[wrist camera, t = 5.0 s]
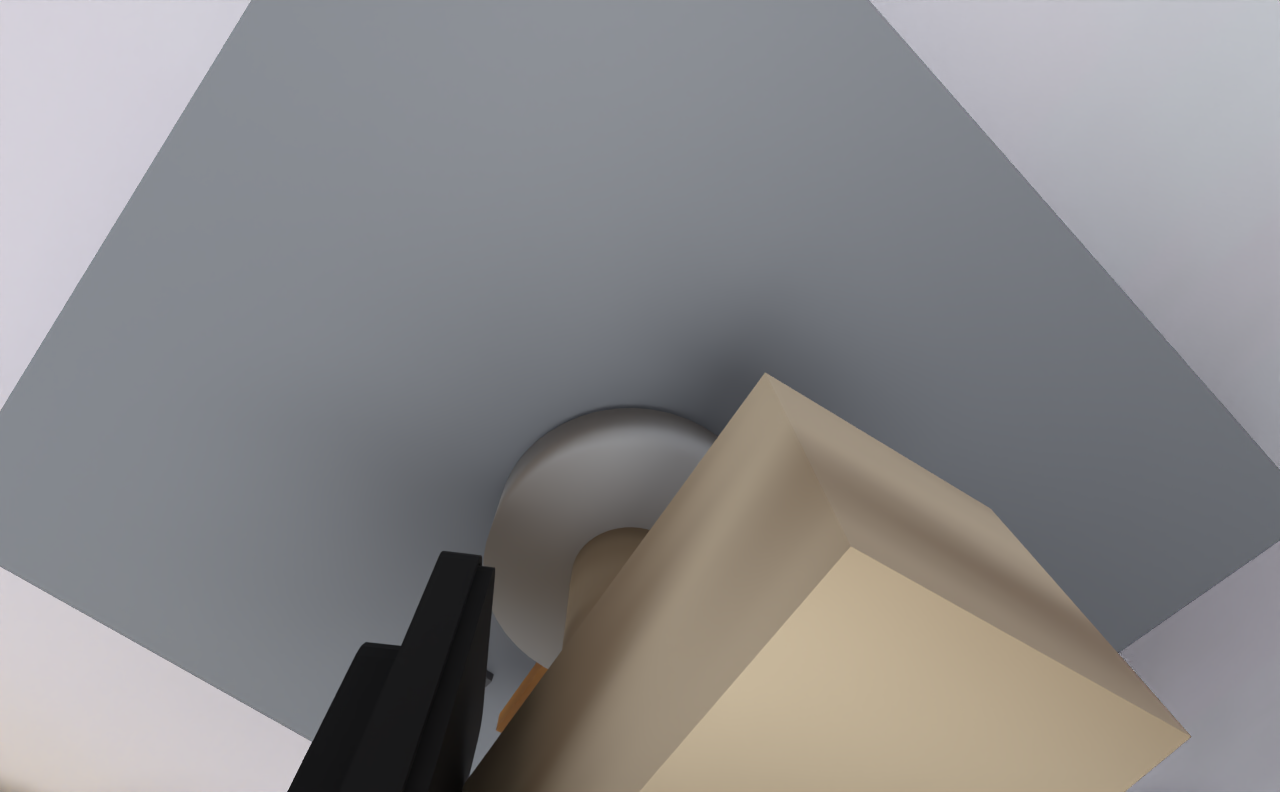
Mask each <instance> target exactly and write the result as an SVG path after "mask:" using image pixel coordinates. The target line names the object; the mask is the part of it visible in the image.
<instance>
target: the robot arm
mask: <svg viewBox="0 0 1280 792" xmlns="http://www.w3.org/2000/svg"><path fill="white" fill-rule="evenodd" d="M494 582H495V567H487V566H482V556H481V555H476V554H467V553H459V552H450V551H442V552H441V553H440V555H439V557H438V559H437V562H436V564H435V566H434V569H433V571H432V573H431V576H430V578H429V581H428V583H427V585H426V588H425V590H424V592H423V595H422V597H421V600H420V602H419V604H418V607H417V609H416V611H415V614H414V616H413V618H412V621H411V623H410V626H409V628H408V630H407V633H406V635H405V637H404V640H403V642H402V645H401V646H399V645H390V644H381V643H372V642H365V643H364V644H362V645H361V646H360V648H359V650H358V651H357V653H356V655H355V657H354V659H353V661H352V663H351V665H350V667H349V669H348V671H347V673H346V675H345V677H344V679H343V681H342V683H341V685H340V687H339V689H338V691H337V693H336V695H335V697H334V699H333V701H332V703H331V705H330V707H329V709H328V711H327V713H326V715H325V717H324V719H323V721H322V723H321V725H320V727H319V729H318V731H317V733H316V735H315V737H314V739H313V741H312V743H311V745H310V747H309V749H308V751H307V753H306V755H305V757H304V759H303V761H302V763H301V765H300V767H299V769H298V771H297V773H296V776H295V778H294V780H293V782H292V784H291V786H290V788H289V790H288V792H462V790H463V785H464V784H465V782H466V781H467V779H468V778H469V775H470V771H471V767H472V763H473V759H474V755H475V750H476V746H477V742H478V738H479V733H480V728H481V722H482V715H483V706H484V695H485V683H486V672H487V661H488V649H489V638H490V627H491V616H492V604H493V593H494Z"/></svg>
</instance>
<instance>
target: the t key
mask: <svg viewBox="0 0 1280 792" xmlns="http://www.w3.org/2000/svg"><path fill="white" fill-rule="evenodd" d="M483 566H487V567H495V582H494V593H493V604H492V611H493V613H494V615H495V617H496V619H497V621H498V623H499V624H500V626H501V627H502V629H503V630H504V632H505V633H506V634H507V635H508V637H509V638H510V639H511V640H512V641H513V642H514V643H515V645H516V646H517V647H518V648H520V649H521V650H522V651H523V652H524V653H525V654H526V655H527V656H529V657H530V658H531V659H533V660H534V661H536V664H535V665H534V667H533V668H532V669H531V671H530V672H529V674H528V675H527V676H526V678H525V679H524V681H523V682H522V683H521V685H520V686H519V687H518V689H517V690H516V692H515V693H514V694H513V696H512V697H511V699H510V700H509V701H508V703H507V704H506V706H505V707H504V708H503V710H502V711H501V712H500V714H499V718H498V723H497V728H496V731H498V732H500V733H501V734H500V736H499V737H498V738H497V740H496V741H495V743H494V744H493V745H492V747H491V748H490V749H489V751H488V752H487V753H486V755H485V756H484V758H483V759H482V760H481V762H480V763H479V764H478V766H477V767H476V769H475V770H474V771H473V773H472V774H471V775H470V777H469V778H468V779H467V781H466V782H465V784H464V785H463V790H462V792H1125V791H1126V790H1128V789H1129V788H1130V787H1131V786H1132V785H1134V784H1135V783H1136V782H1137V781H1138V780H1140V779H1141V778H1142V777H1143V776H1145V775H1146V774H1147V773H1148V772H1149V771H1151V770H1152V769H1153V768H1154V767H1155V766H1157V765H1158V764H1159V763H1160V762H1162V761H1163V760H1164V759H1165V758H1166V757H1168V756H1169V755H1170V754H1171V753H1172V752H1174V751H1175V750H1176V749H1177V748H1179V747H1180V746H1181V745H1182V744H1183V743H1185V742H1186V741H1187V740H1188V739H1189V738H1191V736H1190V734H1189V733H1188V732H1187V731H1186V730H1185V729H1184V728H1183V727H1182V725H1181V724H1180V723H1179V722H1178V721H1177V720H1176V719H1175V717H1174V716H1173V715H1172V714H1171V713H1170V712H1169V711H1168V709H1167V708H1166V707H1165V706H1164V705H1163V704H1162V703H1161V701H1160V700H1159V699H1158V698H1157V697H1156V696H1155V695H1154V694H1153V692H1152V691H1151V690H1150V689H1149V688H1148V687H1147V686H1146V684H1145V683H1144V682H1143V681H1142V680H1141V679H1140V678H1139V676H1138V675H1137V674H1136V673H1135V672H1134V671H1133V670H1132V669H1131V667H1130V666H1129V665H1128V664H1127V663H1126V662H1125V661H1124V659H1123V658H1122V657H1121V656H1120V655H1119V654H1118V653H1117V651H1116V650H1115V649H1114V648H1113V647H1112V646H1111V645H1110V644H1109V642H1108V641H1107V640H1106V639H1105V638H1104V637H1103V636H1102V634H1101V633H1100V632H1099V631H1098V630H1097V629H1096V628H1095V626H1094V625H1093V624H1092V623H1091V622H1090V621H1089V620H1088V619H1087V617H1086V616H1085V615H1084V614H1083V613H1082V612H1081V611H1080V609H1079V608H1078V607H1077V606H1076V605H1075V604H1074V603H1073V601H1072V600H1071V599H1070V598H1069V597H1068V596H1067V595H1066V594H1065V592H1064V591H1063V590H1062V589H1061V588H1060V587H1059V586H1058V584H1057V583H1056V582H1055V581H1054V580H1053V579H1052V578H1051V576H1050V575H1049V574H1048V573H1047V572H1046V571H1045V570H1044V569H1043V567H1042V566H1041V565H1040V564H1039V563H1038V562H1037V561H1036V559H1035V558H1034V557H1033V556H1032V555H1031V554H1030V553H1029V551H1028V550H1027V549H1026V548H1025V547H1024V546H1023V545H1022V544H1021V542H1020V541H1019V540H1018V539H1017V538H1016V537H1015V536H1014V534H1013V533H1012V532H1011V531H1010V530H1009V529H1008V528H1007V526H1006V525H1005V524H1004V523H1003V522H1002V521H1001V520H1000V519H999V517H998V516H997V515H996V514H995V513H994V512H993V511H992V509H990V508H989V507H987V506H985V505H984V504H982V503H980V502H979V501H977V500H976V499H974V498H972V497H971V496H969V495H967V494H966V493H964V492H962V491H961V490H959V489H957V488H956V487H954V486H952V485H951V484H949V483H947V482H946V481H944V480H942V479H941V478H939V477H937V476H936V475H934V474H933V473H931V472H929V471H928V470H926V469H924V468H923V467H921V466H919V465H918V464H916V463H914V462H913V461H911V460H909V459H908V458H906V457H904V456H903V455H901V454H899V453H898V452H896V451H894V450H893V449H891V448H889V447H888V446H886V445H885V444H883V443H881V442H880V441H878V440H876V439H875V438H873V437H871V436H870V435H868V434H866V433H865V432H863V431H861V430H860V429H858V428H856V427H855V426H853V425H851V424H850V423H848V422H846V421H845V420H843V419H842V418H840V417H838V416H837V415H835V414H833V413H832V412H830V411H828V410H827V409H825V408H823V407H822V406H820V405H818V404H817V403H815V402H813V401H812V400H810V399H808V398H807V397H805V396H803V395H802V394H800V393H798V392H797V391H795V390H794V389H792V388H790V387H789V386H787V385H785V384H784V383H782V382H780V381H779V380H777V379H775V378H774V377H772V376H770V375H769V374H767V373H764V375H763V376H762V377H761V379H760V380H759V381H758V383H757V384H756V386H755V387H754V388H753V390H752V391H751V392H750V394H749V395H748V396H747V398H746V399H745V401H744V402H743V403H742V405H741V406H740V407H739V409H738V410H737V412H736V413H735V414H734V416H733V417H732V418H731V420H730V421H729V422H728V424H727V425H726V427H725V428H724V429H723V431H722V432H721V433H720V435H719V436H716V435H715V434H713V433H712V432H710V431H709V430H707V429H706V428H704V427H703V426H701V425H699V424H696V423H694V422H692V421H690V420H688V419H686V418H683V417H680V416H677V415H674V414H671V413H667V412H662V411H657V410H652V409H640V408H619V409H610V410H604V411H597V412H594V413H590V414H587V415H583V416H580V417H577V418H575V419H573V420H570V421H568V422H566V423H563V424H562V425H560V426H558V427H557V428H555V429H553V430H551V431H550V432H548V433H547V434H545V435H544V436H543V437H542V438H540V439H539V440H538V441H536V442H535V443H534V444H533V445H532V446H531V447H530V448H529V449H528V450H527V451H526V452H525V453H524V454H523V456H522V457H521V458H520V460H519V461H518V462H517V464H516V465H515V467H514V468H513V470H512V472H511V474H510V476H509V478H508V479H507V481H506V484H505V487H504V490H503V493H502V496H501V499H500V502H499V505H498V508H497V511H496V514H495V517H494V520H493V523H492V526H491V529H490V532H489V535H488V538H487V541H486V546H485V552H484V558H483Z"/></svg>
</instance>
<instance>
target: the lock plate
mask: <svg viewBox="0 0 1280 792" xmlns="http://www.w3.org/2000/svg"><path fill="white" fill-rule="evenodd" d="M764 373H767V374H769V375H770V376H772V377H774V378H775V379H777V380H779V381H780V382H782V383H784V384H785V385H787V386H789V387H790V388H792V389H794V390H795V391H797V392H798V393H800V394H802V395H803V396H805V397H807V398H808V399H810V400H812V401H813V402H815V403H817V404H818V405H820V406H822V407H823V408H825V409H827V410H828V411H830V412H832V413H833V414H835V415H837V416H838V417H840V418H842V419H843V420H845V421H846V422H848V423H850V424H851V425H853V426H855V427H856V428H858V429H860V430H861V431H863V432H865V433H866V434H868V435H870V436H871V437H873V438H875V439H876V440H878V441H880V442H881V443H883V444H885V445H886V446H888V447H889V448H891V449H893V450H894V451H896V452H898V453H899V454H901V455H903V456H904V457H906V458H908V459H909V460H911V461H913V462H914V463H916V464H918V465H919V466H921V467H923V468H924V469H926V470H928V471H929V472H931V473H933V474H934V475H936V476H937V477H939V478H941V479H942V480H944V481H946V482H947V483H949V484H951V485H952V486H954V487H956V488H957V489H959V490H961V491H962V492H964V493H966V494H967V495H969V496H971V497H972V498H974V499H976V500H977V501H979V502H980V503H982V504H984V505H985V506H987V507H989V508H990V509H992V511H993V512H994V513H995V514H996V515H997V516H998V517H999V519H1000V520H1001V521H1002V522H1003V523H1004V524H1005V525H1006V526H1007V528H1008V529H1009V530H1010V531H1011V532H1012V533H1013V534H1014V536H1015V537H1016V538H1017V539H1018V540H1019V541H1020V542H1021V544H1022V545H1023V546H1024V547H1025V548H1026V549H1027V550H1028V551H1029V553H1030V554H1031V555H1032V556H1033V557H1034V558H1035V559H1036V561H1037V562H1038V563H1039V564H1040V565H1041V566H1042V567H1043V569H1044V570H1045V571H1046V572H1047V573H1048V574H1049V575H1050V576H1051V578H1052V579H1053V580H1054V581H1055V582H1056V583H1057V584H1058V586H1059V587H1060V588H1061V589H1062V590H1063V591H1064V592H1065V594H1066V595H1067V596H1068V597H1069V598H1070V599H1071V600H1072V601H1073V603H1074V604H1075V605H1076V606H1077V607H1078V608H1079V609H1080V611H1081V612H1082V613H1083V614H1084V615H1085V616H1086V617H1087V619H1088V620H1089V621H1090V622H1091V623H1092V624H1093V625H1094V626H1095V628H1096V629H1097V630H1098V631H1099V632H1100V633H1101V634H1102V636H1103V637H1104V638H1105V639H1106V640H1107V641H1108V642H1109V644H1110V645H1111V646H1112V647H1113V648H1114V649H1115V650H1116V651H1117V653H1119V652H1120V651H1122V650H1123V649H1125V648H1126V647H1127V646H1129V645H1130V644H1132V643H1133V642H1135V641H1136V640H1138V639H1139V638H1140V637H1142V636H1143V635H1145V634H1146V633H1148V632H1149V631H1150V630H1152V629H1153V628H1155V627H1156V626H1158V625H1159V624H1160V623H1162V622H1163V621H1165V620H1166V619H1168V618H1169V617H1171V616H1172V615H1173V614H1175V613H1176V612H1178V611H1179V610H1181V609H1182V608H1183V607H1185V606H1186V605H1188V604H1189V603H1191V602H1192V601H1193V600H1195V599H1196V598H1198V597H1199V596H1201V595H1202V594H1204V593H1205V592H1206V591H1208V590H1209V589H1211V588H1212V587H1214V586H1215V585H1216V584H1218V583H1219V582H1221V581H1222V580H1224V579H1225V578H1226V577H1228V576H1229V575H1231V574H1232V573H1234V572H1235V571H1237V570H1238V569H1239V568H1241V567H1242V566H1244V565H1245V564H1247V563H1248V562H1249V561H1251V560H1252V559H1254V558H1255V557H1257V556H1258V555H1259V554H1261V553H1262V552H1264V551H1265V550H1267V549H1268V548H1270V547H1271V546H1272V545H1274V544H1275V543H1277V542H1278V541H1280V470H1279V469H1278V467H1277V466H1276V465H1275V464H1274V463H1273V462H1272V461H1271V459H1270V458H1269V457H1268V456H1267V455H1266V454H1265V453H1264V451H1263V450H1262V449H1261V448H1260V447H1259V446H1258V445H1257V443H1256V442H1255V441H1254V440H1253V439H1252V438H1251V437H1250V435H1249V434H1248V433H1247V432H1246V431H1245V430H1244V429H1243V427H1242V426H1241V425H1240V424H1239V423H1238V422H1237V421H1236V419H1235V418H1234V417H1233V416H1232V415H1231V414H1230V412H1229V411H1228V410H1227V409H1226V408H1225V407H1224V406H1223V404H1222V403H1221V402H1220V401H1219V400H1218V399H1217V398H1216V396H1215V395H1214V394H1213V393H1212V392H1211V391H1210V390H1209V388H1208V387H1207V386H1206V385H1205V384H1204V383H1203V382H1202V380H1201V379H1200V378H1199V377H1198V376H1197V375H1196V374H1195V372H1194V371H1193V370H1192V369H1191V368H1190V367H1189V366H1188V364H1187V363H1186V362H1185V361H1184V360H1183V359H1182V358H1181V356H1180V355H1179V354H1178V353H1177V352H1176V351H1175V350H1174V348H1173V347H1172V346H1171V345H1170V344H1169V343H1168V342H1167V340H1166V339H1165V338H1164V337H1163V336H1162V335H1161V334H1160V332H1159V331H1158V330H1157V329H1156V328H1155V327H1154V326H1153V324H1152V323H1151V322H1150V321H1149V320H1148V319H1147V318H1146V316H1145V315H1144V314H1143V313H1142V312H1141V311H1140V310H1139V308H1138V307H1137V306H1136V305H1135V304H1134V303H1133V302H1132V300H1131V299H1130V298H1129V297H1128V296H1127V295H1126V294H1125V292H1124V291H1123V290H1122V289H1121V288H1120V287H1119V286H1118V284H1117V283H1116V282H1115V281H1114V280H1113V279H1112V278H1111V276H1110V275H1109V274H1108V273H1107V272H1106V271H1105V270H1104V268H1103V267H1102V266H1101V265H1100V264H1099V263H1098V261H1097V260H1096V259H1095V258H1094V257H1093V256H1092V255H1091V253H1090V252H1089V251H1088V250H1087V249H1086V248H1085V247H1084V245H1083V244H1082V243H1081V242H1080V241H1079V240H1078V239H1077V237H1076V236H1075V235H1074V234H1073V233H1072V232H1071V231H1070V229H1069V228H1068V227H1067V226H1066V225H1065V224H1064V223H1063V221H1062V220H1061V219H1060V218H1059V217H1058V216H1057V215H1056V213H1055V212H1054V211H1053V210H1052V209H1051V208H1050V207H1049V205H1048V204H1047V203H1046V202H1045V201H1044V200H1043V199H1042V197H1041V196H1040V195H1039V194H1038V193H1037V192H1036V191H1035V189H1034V188H1033V187H1032V186H1031V185H1030V184H1029V183H1028V181H1027V180H1026V179H1025V178H1024V177H1023V176H1022V175H1021V173H1020V172H1019V171H1018V170H1017V169H1016V168H1015V167H1014V165H1013V164H1012V163H1011V162H1010V161H1009V160H1008V159H1007V157H1006V156H1005V155H1004V154H1003V153H1002V152H1001V151H1000V149H999V148H998V147H997V146H996V145H995V144H994V143H993V141H992V140H991V139H990V138H989V137H988V136H987V135H986V133H985V132H984V131H983V130H982V129H981V128H980V127H979V125H978V124H977V123H976V122H975V121H974V120H973V119H972V117H971V116H970V115H969V114H968V113H967V112H966V111H965V109H964V108H963V107H962V106H961V105H960V104H959V102H958V101H957V100H956V99H955V98H954V97H953V96H952V94H951V93H950V92H949V91H948V90H947V89H946V88H945V86H944V85H943V84H942V83H941V82H940V81H939V80H938V78H937V77H936V76H935V75H934V74H933V73H932V72H931V70H930V69H929V68H928V67H927V66H926V65H925V64H924V62H923V61H922V60H921V59H920V58H919V57H918V56H917V54H916V53H915V52H914V51H913V50H912V49H911V48H910V46H909V45H908V44H907V43H906V42H905V41H904V40H903V38H902V37H901V36H900V35H899V34H898V33H897V32H896V30H895V29H894V28H893V27H892V26H891V25H890V24H889V22H888V21H887V20H886V19H885V18H884V17H883V16H882V14H881V13H880V12H879V11H878V10H877V9H876V8H875V6H874V5H873V4H872V3H871V2H870V1H869V0H251V2H250V3H249V5H248V7H247V8H246V10H245V12H244V13H243V15H242V17H241V18H240V20H239V21H238V23H237V25H236V26H235V28H234V30H233V31H232V33H231V35H230V36H229V38H228V39H227V41H226V43H225V44H224V46H223V48H222V49H221V51H220V53H219V54H218V56H217V57H216V59H215V61H214V62H213V64H212V66H211V67H210V69H209V71H208V72H207V74H206V75H205V77H204V79H203V80H202V82H201V84H200V85H199V87H198V89H197V90H196V92H195V93H194V95H193V97H192V98H191V100H190V102H189V103H188V105H187V107H186V108H185V110H184V111H183V113H182V115H181V116H180V118H179V120H178V121H177V123H176V125H175V126H174V128H173V129H172V131H171V133H170V134H169V136H168V138H167V139H166V141H165V143H164V144H163V146H162V147H161V149H160V151H159V152H158V154H157V156H156V157H155V159H154V161H153V162H152V164H151V165H150V167H149V169H148V170H147V172H146V174H145V175H144V177H143V179H142V180H141V182H140V183H139V185H138V187H137V188H136V190H135V192H134V193H133V195H132V197H131V198H130V200H129V201H128V203H127V205H126V206H125V208H124V210H123V211H122V213H121V215H120V216H119V218H118V219H117V221H116V223H115V224H114V226H113V228H112V229H111V231H110V233H109V234H108V236H107V237H106V239H105V241H104V242H103V244H102V246H101V247H100V249H99V250H98V252H97V254H96V255H95V257H94V259H93V260H92V262H91V264H90V265H89V267H88V268H87V270H86V272H85V273H84V275H83V277H82V278H81V280H80V282H79V283H78V285H77V286H76V288H75V290H74V291H73V293H72V295H71V296H70V298H69V300H68V301H67V303H66V304H65V306H64V308H63V309H62V311H61V313H60V314H59V316H58V318H57V319H56V321H55V322H54V324H53V326H52V327H51V329H50V331H49V332H48V334H47V336H46V337H45V339H44V340H43V342H42V344H41V345H40V347H39V349H38V350H37V352H36V354H35V355H34V357H33V358H32V360H31V362H30V363H29V365H28V367H27V368H26V370H25V372H24V373H23V375H22V376H21V378H20V380H19V381H18V383H17V385H16V386H15V388H14V390H13V391H12V393H11V394H10V396H9V398H8V399H7V401H6V403H5V404H4V406H3V408H2V409H1V411H0V567H2V568H4V569H6V570H7V571H9V572H11V573H13V574H15V575H16V576H18V577H20V578H22V579H23V580H25V581H27V582H29V583H31V584H32V585H34V586H36V587H38V588H39V589H41V590H43V591H45V592H47V593H48V594H50V595H52V596H54V597H55V598H57V599H59V600H61V601H63V602H64V603H66V604H68V605H70V606H71V607H73V608H75V609H77V610H79V611H80V612H82V613H84V614H86V615H87V616H89V617H91V618H93V619H95V620H96V621H98V622H100V623H102V624H103V625H105V626H107V627H109V628H111V629H112V630H114V631H116V632H118V633H120V634H121V635H123V636H125V637H127V638H128V639H130V640H132V641H134V642H136V643H137V644H139V645H141V646H143V647H144V648H146V649H148V650H150V651H152V652H153V653H155V654H157V655H159V656H160V657H162V658H164V659H166V660H168V661H169V662H171V663H173V664H175V665H176V666H178V667H180V668H182V669H184V670H185V671H187V672H189V673H191V674H192V675H194V676H196V677H198V678H200V679H201V680H203V681H205V682H207V683H208V684H210V685H212V686H214V687H216V688H217V689H219V690H221V691H223V692H224V693H226V694H228V695H230V696H232V697H233V698H235V699H237V700H239V701H240V702H242V703H244V704H246V705H248V706H249V707H251V708H253V709H255V710H257V711H258V712H260V713H262V714H264V715H265V716H267V717H269V718H271V719H273V720H274V721H276V722H278V723H280V724H281V725H283V726H285V727H287V728H289V729H290V730H292V731H294V732H296V733H297V734H299V735H301V736H303V737H305V738H306V739H308V740H310V741H313V739H314V737H315V735H316V733H317V731H318V729H319V727H320V725H321V723H322V721H323V719H324V717H325V715H326V713H327V711H328V709H329V707H330V705H331V703H332V701H333V699H334V697H335V695H336V693H337V691H338V689H339V687H340V685H341V683H342V681H343V679H344V677H345V675H346V673H347V671H348V669H349V667H350V665H351V663H352V661H353V659H354V657H355V655H356V653H357V651H358V650H359V648H360V646H361V645H362V644H364V643H365V642H372V643H381V644H390V645H399V646H401V645H402V642H403V640H404V637H405V635H406V633H407V630H408V628H409V626H410V623H411V621H412V618H413V616H414V614H415V611H416V609H417V607H418V604H419V602H420V600H421V597H422V595H423V592H424V590H425V588H426V585H427V583H428V581H429V578H430V576H431V573H432V571H433V569H434V566H435V564H436V562H437V559H438V557H439V555H440V553H441V552H442V551H450V552H459V553H467V554H476V555H481V556H482V566H483V558H484V552H485V546H486V541H487V538H488V535H489V532H490V529H491V526H492V523H493V520H494V517H495V514H496V511H497V508H498V505H499V502H500V499H501V496H502V493H503V490H504V487H505V484H506V481H507V479H508V478H509V476H510V474H511V472H512V470H513V468H514V467H515V465H516V464H517V462H518V461H519V460H520V458H521V457H522V456H523V454H524V453H525V452H526V451H527V450H528V449H529V448H530V447H531V446H532V445H533V444H534V443H535V442H536V441H538V440H539V439H540V438H542V437H543V436H544V435H545V434H547V433H548V432H550V431H551V430H553V429H555V428H557V427H558V426H560V425H562V424H563V423H566V422H568V421H570V420H573V419H575V418H577V417H580V416H583V415H587V414H590V413H594V412H597V411H604V410H610V409H619V408H640V409H652V410H657V411H662V412H667V413H671V414H674V415H677V416H680V417H683V418H686V419H688V420H690V421H692V422H694V423H696V424H699V425H701V426H703V427H704V428H706V429H707V430H709V431H710V432H712V433H713V434H715V435H716V436H719V435H720V433H721V432H722V431H723V429H724V428H725V427H726V425H727V424H728V422H729V421H730V420H731V418H732V417H733V416H734V414H735V413H736V412H737V410H738V409H739V407H740V406H741V405H742V403H743V402H744V401H745V399H746V398H747V396H748V395H749V394H750V392H751V391H752V390H753V388H754V387H755V386H756V384H757V383H758V381H759V380H760V379H761V377H762V376H763V375H764ZM535 664H536V661H534V660H533V659H531V658H530V657H529V656H527V655H526V654H525V653H524V652H523V651H522V650H521V649H520V648H518V647H517V646H516V645H515V643H514V642H513V641H512V640H511V639H510V638H509V637H508V635H507V634H506V633H505V632H504V630H503V629H502V627H501V626H500V624H499V623H498V621H497V619H496V617H495V615H494V613H493V611H492V616H491V627H490V638H489V649H488V661H487V672H486V683H485V695H484V706H483V715H482V722H481V728H480V733H479V738H478V742H477V746H476V750H475V755H474V759H473V763H472V767H471V771H470V775H471V774H472V773H473V771H474V770H475V769H476V767H477V766H478V764H479V763H480V762H481V760H482V759H483V758H484V756H485V755H486V753H487V752H488V751H489V749H490V748H491V747H492V745H493V744H494V743H495V741H496V740H497V738H498V737H499V736H500V734H501V733H500V732H498V731H496V728H497V723H498V718H499V714H500V712H501V711H502V710H503V708H504V707H505V706H506V704H507V703H508V701H509V700H510V699H511V697H512V696H513V694H514V693H515V692H516V690H517V689H518V687H519V686H520V685H521V683H522V682H523V681H524V679H525V678H526V676H527V675H528V674H529V672H530V671H531V669H532V668H533V667H534V665H535ZM470 775H469V777H470Z"/></svg>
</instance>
